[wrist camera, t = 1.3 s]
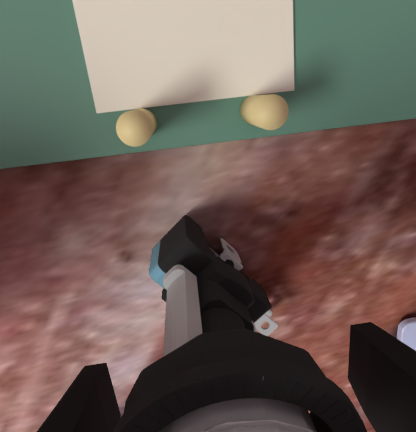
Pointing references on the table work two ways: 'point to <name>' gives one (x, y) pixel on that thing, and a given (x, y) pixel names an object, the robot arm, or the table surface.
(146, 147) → the board
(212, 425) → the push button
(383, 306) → the table surface
